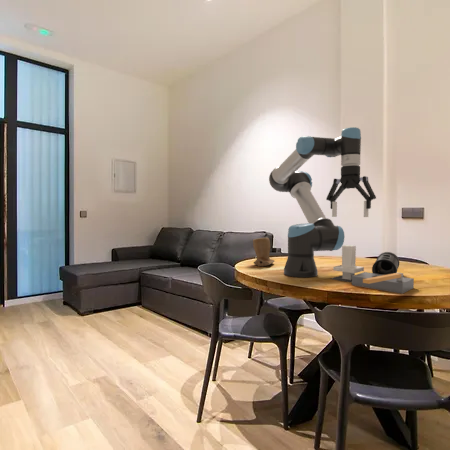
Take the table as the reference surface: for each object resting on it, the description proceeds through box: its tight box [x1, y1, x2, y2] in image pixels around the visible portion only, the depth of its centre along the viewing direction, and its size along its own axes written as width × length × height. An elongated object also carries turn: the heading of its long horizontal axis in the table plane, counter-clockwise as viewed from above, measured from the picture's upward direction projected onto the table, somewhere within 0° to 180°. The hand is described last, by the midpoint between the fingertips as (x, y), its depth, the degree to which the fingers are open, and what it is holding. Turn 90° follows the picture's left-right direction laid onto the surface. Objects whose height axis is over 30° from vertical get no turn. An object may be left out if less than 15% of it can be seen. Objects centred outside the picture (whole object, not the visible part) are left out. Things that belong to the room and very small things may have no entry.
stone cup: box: [252, 237, 275, 267], centre depth 175 cm, size 15×12×15 cm
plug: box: [332, 244, 365, 280], centre depth 135 cm, size 9×9×14 cm
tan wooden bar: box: [363, 272, 404, 284], centre depth 109 cm, size 21×2×1 cm, turn 123°
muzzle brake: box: [371, 251, 400, 275], centre depth 140 cm, size 10×28×10 cm, turn 150°
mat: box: [330, 274, 352, 283], centre depth 135 cm, size 11×11×1 cm
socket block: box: [351, 271, 415, 295], centre depth 121 cm, size 18×12×6 cm, turn 44°
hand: (349, 217), depth 134 cm, fingers open, 13 cm apart
